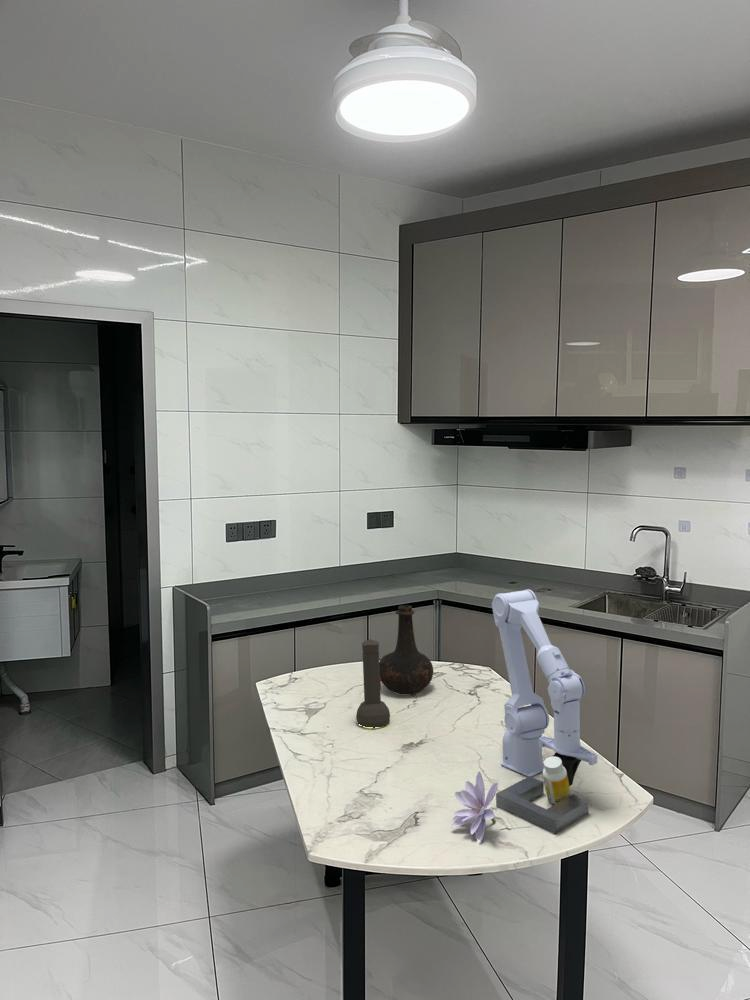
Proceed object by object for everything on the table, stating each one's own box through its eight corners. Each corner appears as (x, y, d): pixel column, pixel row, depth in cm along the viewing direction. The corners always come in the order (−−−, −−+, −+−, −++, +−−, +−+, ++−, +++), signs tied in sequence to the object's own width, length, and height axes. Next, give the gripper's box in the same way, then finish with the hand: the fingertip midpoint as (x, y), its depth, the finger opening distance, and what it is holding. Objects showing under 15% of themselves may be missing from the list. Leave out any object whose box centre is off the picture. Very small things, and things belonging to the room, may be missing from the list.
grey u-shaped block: (496, 806, 169) (496, 793, 168) (529, 788, 176) (529, 776, 176) (555, 834, 156) (555, 820, 156) (588, 813, 164) (588, 800, 164)
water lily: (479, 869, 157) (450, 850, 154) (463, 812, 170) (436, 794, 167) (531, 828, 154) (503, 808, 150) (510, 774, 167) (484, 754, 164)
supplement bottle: (543, 801, 170) (535, 765, 167) (554, 786, 174) (547, 751, 171) (564, 808, 166) (557, 772, 164) (575, 793, 170) (568, 757, 167)
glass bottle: (376, 682, 252) (373, 601, 249) (428, 679, 254) (426, 597, 251) (382, 702, 234) (379, 614, 232) (438, 697, 236) (436, 610, 233)
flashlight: (357, 730, 213) (391, 728, 214) (353, 645, 211) (388, 643, 211) (355, 717, 223) (388, 715, 223) (352, 635, 220) (385, 633, 221)
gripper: (604, 731, 168) (605, 789, 169) (551, 714, 179) (552, 769, 180) (586, 741, 163) (587, 800, 165) (532, 722, 174) (533, 778, 176)
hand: (567, 784), depth 172 cm, fingers closed, pressing on supplement bottle
